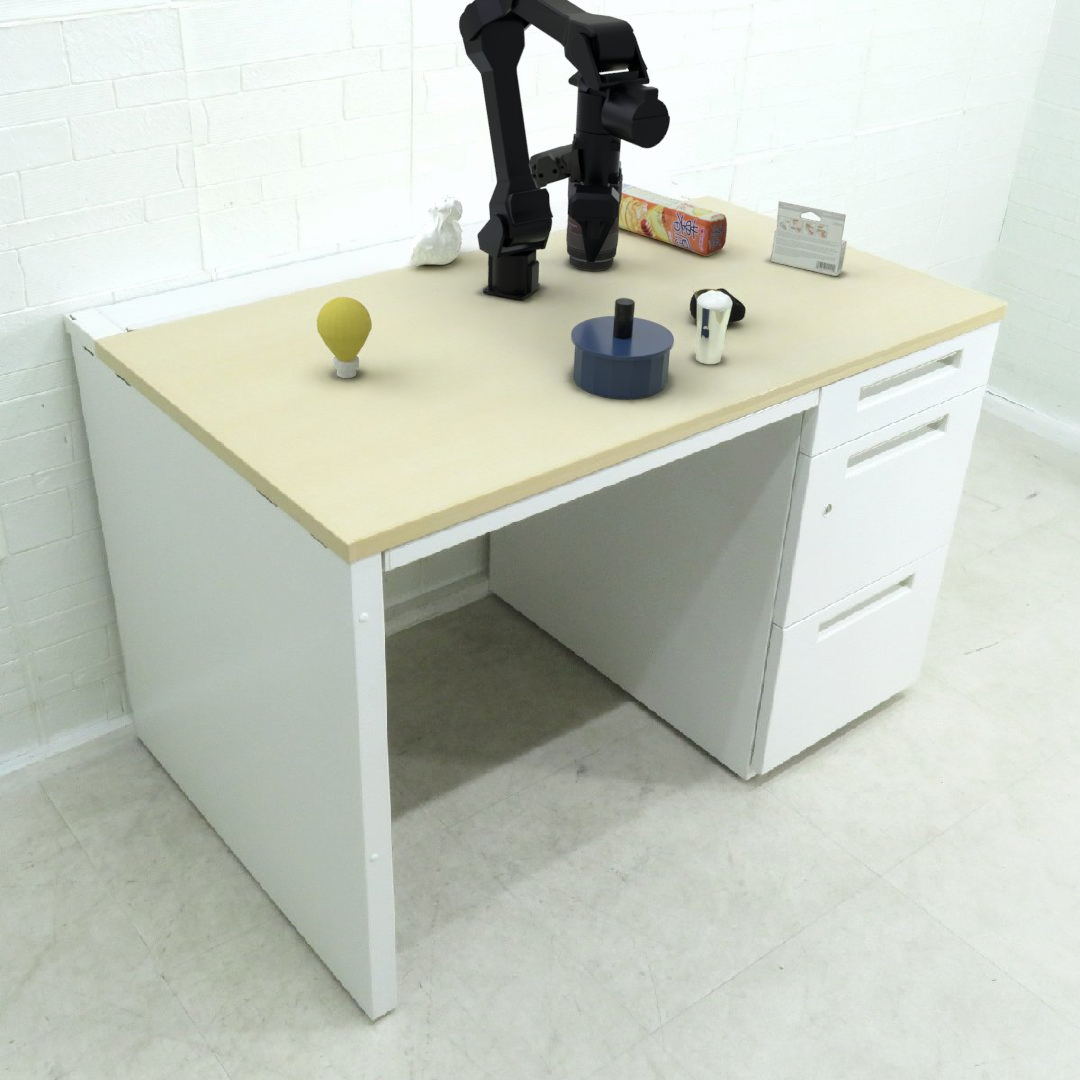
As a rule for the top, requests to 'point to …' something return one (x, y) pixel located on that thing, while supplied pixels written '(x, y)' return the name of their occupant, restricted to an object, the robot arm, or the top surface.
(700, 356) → the milkshake
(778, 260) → the ink cartridge box
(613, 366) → the tin
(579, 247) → the camera lens
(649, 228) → the snack package
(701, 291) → the tape measure
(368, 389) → the top surface
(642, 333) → the tin lid
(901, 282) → the top surface
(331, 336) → the light bulb
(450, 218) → the bust
